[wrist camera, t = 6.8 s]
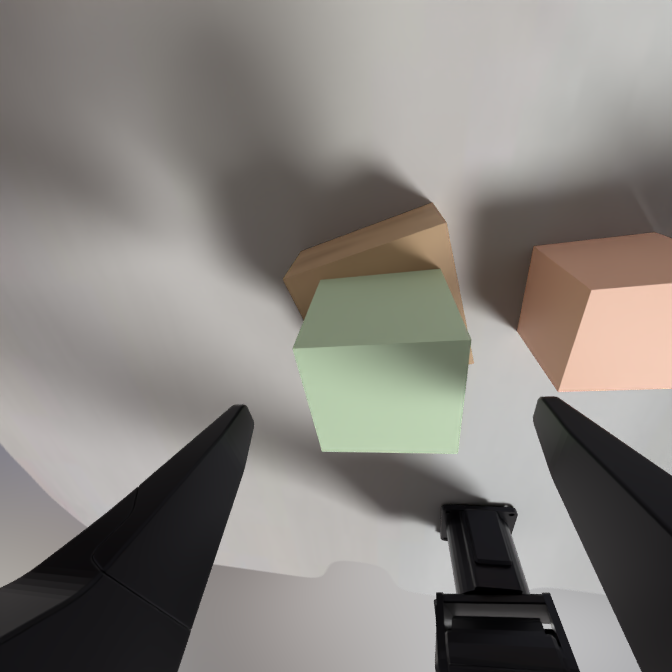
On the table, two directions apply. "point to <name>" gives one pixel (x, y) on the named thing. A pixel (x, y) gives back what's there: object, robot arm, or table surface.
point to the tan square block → (378, 255)
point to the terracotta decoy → (601, 313)
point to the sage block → (385, 363)
